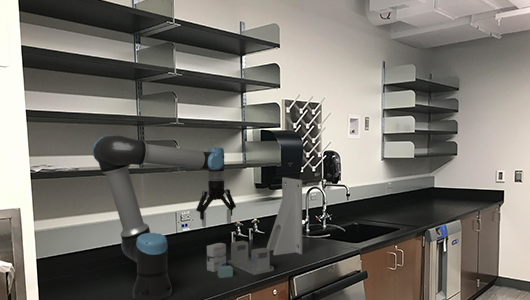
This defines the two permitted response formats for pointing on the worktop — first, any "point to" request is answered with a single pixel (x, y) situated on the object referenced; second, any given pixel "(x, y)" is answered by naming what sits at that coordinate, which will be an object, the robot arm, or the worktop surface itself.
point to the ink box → (216, 256)
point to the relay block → (225, 271)
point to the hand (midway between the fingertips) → (216, 224)
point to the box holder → (255, 263)
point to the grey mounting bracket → (288, 220)
